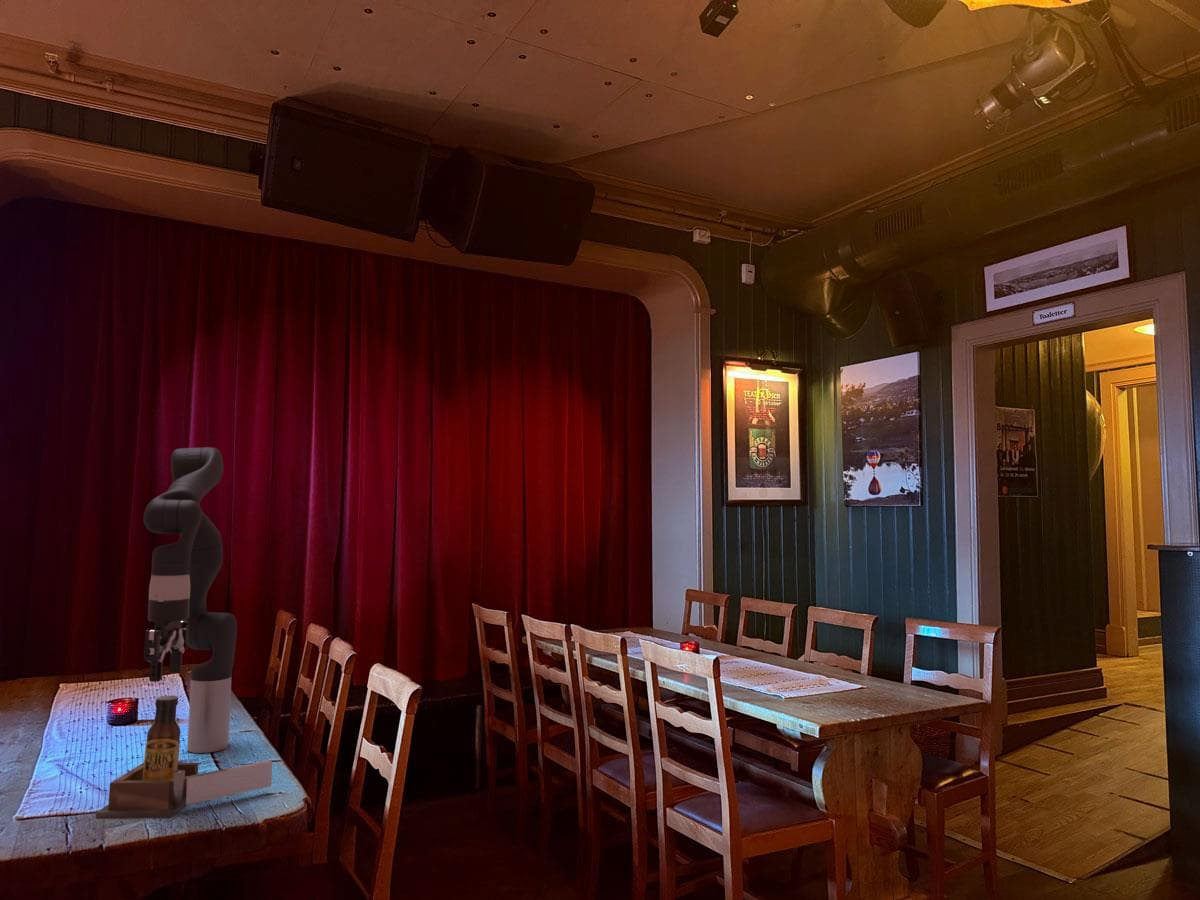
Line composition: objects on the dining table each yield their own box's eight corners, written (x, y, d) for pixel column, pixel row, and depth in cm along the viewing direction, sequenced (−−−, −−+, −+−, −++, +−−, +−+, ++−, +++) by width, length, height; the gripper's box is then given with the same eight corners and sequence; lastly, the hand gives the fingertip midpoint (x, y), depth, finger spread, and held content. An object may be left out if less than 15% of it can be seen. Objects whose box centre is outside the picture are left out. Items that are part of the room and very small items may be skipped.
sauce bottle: (137, 804, 162) (143, 701, 164) (144, 793, 168) (150, 694, 170) (173, 801, 164) (179, 700, 166) (179, 791, 170) (185, 693, 172)
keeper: (173, 807, 159) (175, 773, 160) (170, 805, 161) (172, 771, 161) (271, 786, 172) (273, 754, 173) (267, 784, 174) (269, 752, 174)
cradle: (138, 789, 173) (139, 760, 174) (205, 789, 174) (207, 760, 175) (95, 817, 158) (97, 785, 158) (170, 817, 158) (172, 785, 159)
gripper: (167, 592, 176) (163, 669, 175) (133, 600, 161) (128, 684, 160) (203, 593, 176) (199, 669, 175) (172, 601, 162) (168, 684, 161)
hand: (165, 676), depth 168 cm, fingers open, 8 cm apart
